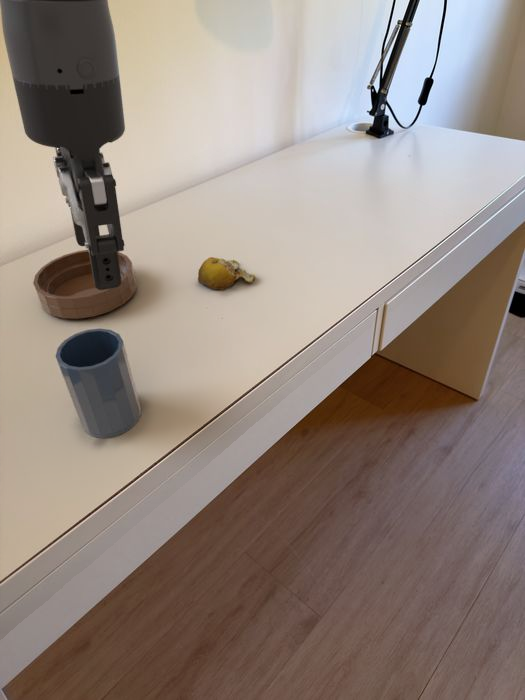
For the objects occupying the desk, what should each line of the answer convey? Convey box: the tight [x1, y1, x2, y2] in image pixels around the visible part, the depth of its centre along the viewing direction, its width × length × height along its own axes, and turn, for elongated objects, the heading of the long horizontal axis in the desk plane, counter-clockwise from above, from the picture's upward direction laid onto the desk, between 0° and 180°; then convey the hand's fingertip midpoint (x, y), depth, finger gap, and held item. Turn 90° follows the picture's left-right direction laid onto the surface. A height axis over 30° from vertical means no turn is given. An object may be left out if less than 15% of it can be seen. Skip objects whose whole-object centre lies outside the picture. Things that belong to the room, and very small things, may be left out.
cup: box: [55, 328, 142, 439], centre depth 57 cm, size 7×7×10 cm
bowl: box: [32, 249, 137, 320], centre depth 79 cm, size 14×14×4 cm
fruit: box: [197, 256, 256, 290], centre depth 81 cm, size 8×8×4 cm
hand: (98, 264), depth 49 cm, fingers open, 8 cm apart
